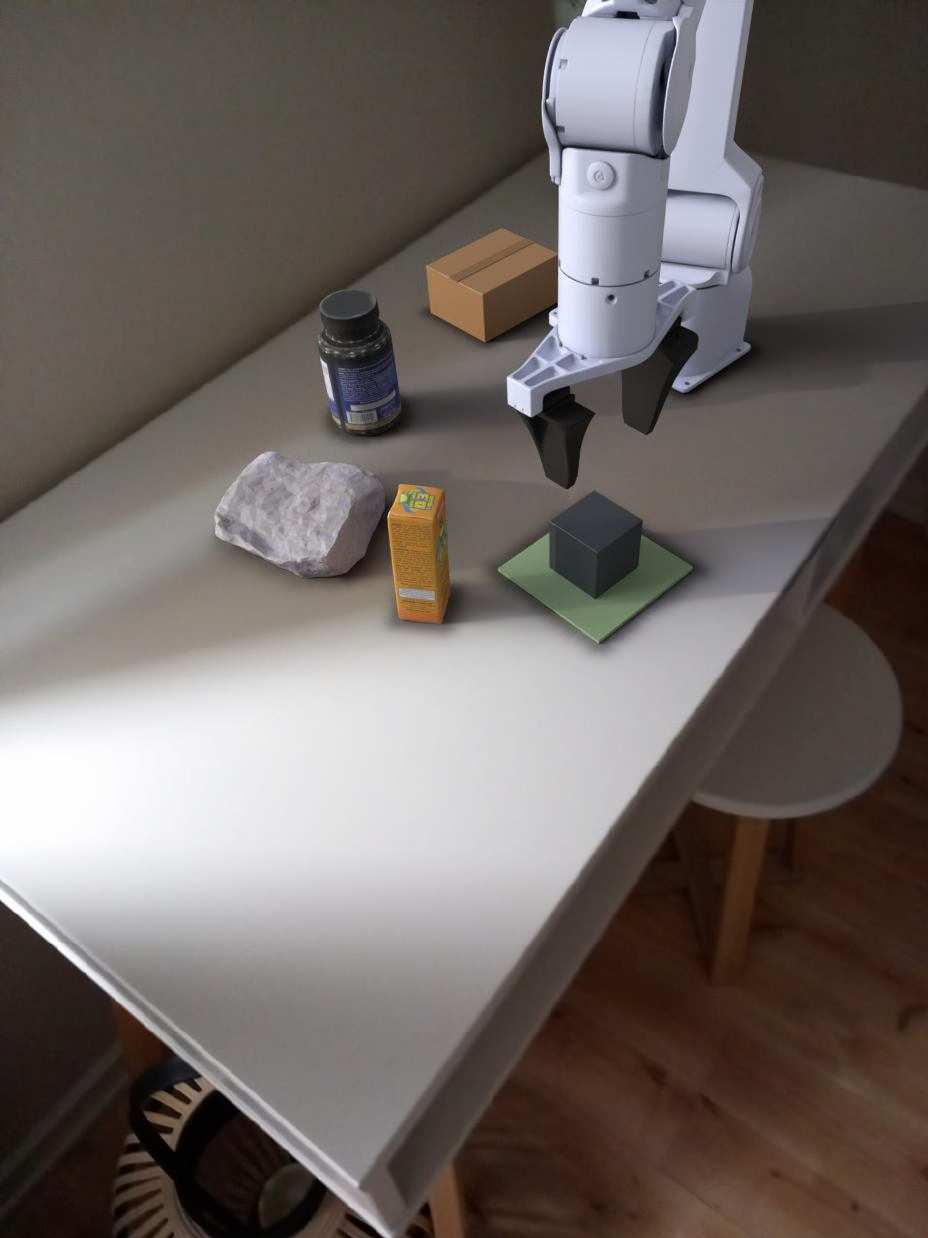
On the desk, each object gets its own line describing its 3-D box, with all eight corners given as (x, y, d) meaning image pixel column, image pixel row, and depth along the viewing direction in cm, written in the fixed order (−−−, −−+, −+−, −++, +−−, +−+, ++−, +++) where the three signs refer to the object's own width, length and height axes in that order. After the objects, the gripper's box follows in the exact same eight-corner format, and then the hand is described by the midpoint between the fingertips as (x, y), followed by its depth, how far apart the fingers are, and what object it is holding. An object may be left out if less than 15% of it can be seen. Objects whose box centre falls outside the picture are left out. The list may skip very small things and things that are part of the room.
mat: (591, 505, 76) (591, 503, 75) (693, 569, 70) (693, 566, 70) (497, 571, 71) (497, 568, 71) (598, 644, 66) (598, 641, 66)
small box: (592, 536, 73) (594, 489, 69) (638, 567, 70) (643, 519, 67) (548, 567, 71) (548, 520, 68) (595, 600, 69) (597, 553, 65)
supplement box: (445, 626, 68) (433, 520, 61) (398, 621, 69) (380, 515, 61) (455, 592, 70) (445, 485, 63) (409, 587, 71) (393, 481, 64)
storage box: (504, 273, 100) (502, 226, 97) (559, 301, 96) (560, 252, 92) (430, 312, 96) (425, 265, 92) (484, 343, 92) (482, 294, 88)
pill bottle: (416, 408, 86) (402, 293, 77) (375, 446, 82) (356, 331, 74) (360, 389, 88) (341, 276, 80) (318, 426, 85) (294, 312, 77)
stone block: (351, 602, 73) (396, 498, 77) (333, 566, 69) (382, 458, 73) (214, 574, 76) (265, 476, 81) (189, 538, 72) (245, 437, 77)
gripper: (641, 194, 59) (627, 381, 70) (465, 287, 54) (479, 477, 64) (735, 230, 56) (706, 423, 66) (557, 334, 50) (556, 528, 60)
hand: (599, 453), depth 65 cm, fingers open, 7 cm apart
